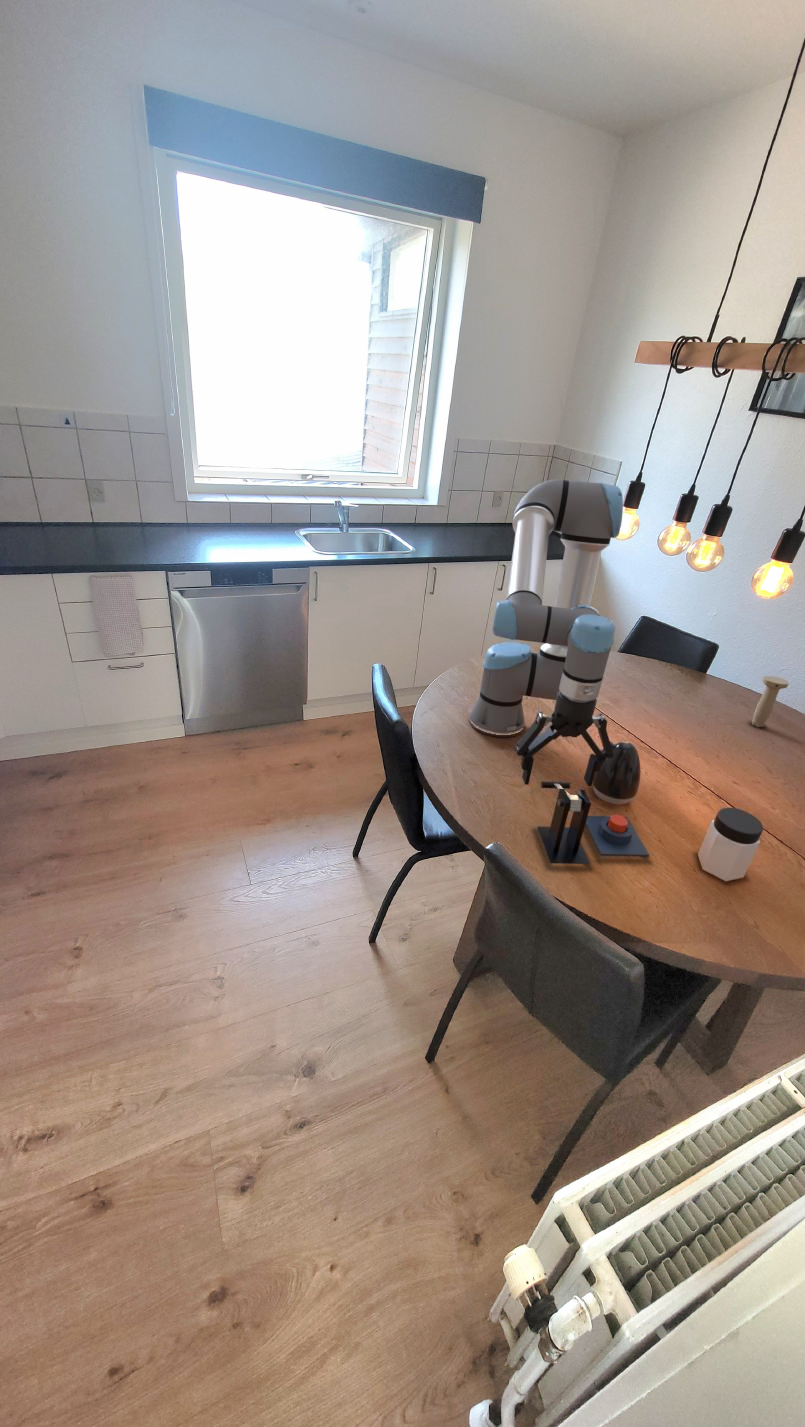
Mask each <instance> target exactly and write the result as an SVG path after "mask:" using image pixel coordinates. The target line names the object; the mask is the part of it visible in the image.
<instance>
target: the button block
mask: <svg viewBox="0 0 805 1427" xmlns="http://www.w3.org/2000/svg"><path fill="white" fill-rule="evenodd" d="M611 816H612V815H609V816H607V815H588V817H587V820H586V824H585V827H586V829H587V830H588V832H589V834H590V837H591V839H592V841H593V843H594V845H595V847H596V849H597V851H598V853H599V856H604V857H606V856H607V857H610V856H611V857H650V854H649V852H648V850H647V848H646V847H645V845H644V843H643V841H642V840H641V838H640V837H639V835H638V833H637V832H636V830H635V828H634V827H633V825H632V823H631V822H630V820H629V818H628V817H627V816H623V817H624V818H626V819H627V821H628V825H627V828H626V831H625V832H624V833H617V832H614V831H612V830H611V829H609V828H608V823H609V820H610V817H611Z"/></svg>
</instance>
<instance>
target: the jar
mask: <svg viewBox="0 0 805 1427" xmlns="http://www.w3.org/2000/svg"><path fill="white" fill-rule="evenodd" d="M763 831H764V826H763V824H762V822H761V821H760V820H759V819H758V817H756V816H755V815H754V814H751V813H750V812H748V811H746V810H743V809H740V808H736V807H723V808H721V809H719V810H718V811H717V814H716V815H715V818H714V819H712V820H711V821H710V824H709V826H708V829H707V831H706V834H705V836H704V837H703V838H704V839H703V841H702V844H701V846H700V848H699V851H698V853H697V857H698V859H699V863H700V866H701V870H703V871H705V872H706V873H709V874H711V875H712V876H714V877H716V878H718V879H720V880H722V881H724V882H729V881H733V880H738V879H739V880H740V879H743V878H744V877H745V875H746V873H747V872H748V869H749V867H750V865H751V863H752V861H753V860H754V856H755V854H756V852H757V850H758V848H759V846H760V844H761V841H760V838H761V835H762V833H763Z"/></svg>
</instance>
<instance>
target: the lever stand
mask: <svg viewBox="0 0 805 1427" xmlns="http://www.w3.org/2000/svg"><path fill="white" fill-rule="evenodd" d="M565 790H566V789H560V790H559V793H558V794H557V798H556V802H555V806H554V811H553V814H552V818H551V823H550V826H538V825H537V826H536V829H537V832H538V834H539V836H540V839H541V842H542V844H543V848H544V850H545V853H546V855H547V858H548V860H549V863H550V864H563V865H565V864H566V865H567V864H568V865H569V864H570V865H575V864H576V865H590V864H591V863H590V860H589V858H588V856H587V854H586V852H585V850H584V848H583V847H584V846H583V845H582V843H581V842H582V837H583V834H584V830H585V827H586V820H587V817H588V816H589V813H590V810H591V806H592V801H591V800H590V798H589V796H588V794H587V792H586V790H585V789H583V788H580V789H579V790H578V793H577V796H578V797H579V798H580V799H581V800H582V804H581V811H572V816H571V820H570V822H569V823H570V825H569V826H566V823H567V820H568V816H569V812H570V811H569V808H570V804H571V802H570V799H569V797H568V795H567V793H566V791H567V790H566V791H565Z"/></svg>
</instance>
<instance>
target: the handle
mask: <svg viewBox="0 0 805 1427" xmlns="http://www.w3.org/2000/svg"><path fill="white" fill-rule="evenodd" d="M762 683H763V684H764V685H765V689H764V691H763V693H762V695H761V696H760V699H759V700H758V703H757V704H756V707H755V708H754V712H753V716H752V720H751V724H752V726H755V727H756V728H764V726H765V724H766V723H767V721H768V720H769V718H770V717H771V716H770V715H771V713H772V711H773V709H774V706H775V703H776V700H777V697H778V694H779V692H780V690H783V689H787V688H788V687H789V684H790V682H789V681H788V680H786V679H784V678H781V677H777V676H773V675H764V676H763V677H762Z"/></svg>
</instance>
